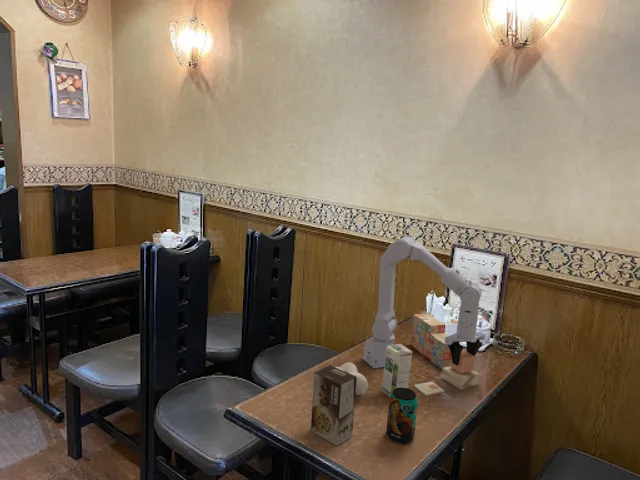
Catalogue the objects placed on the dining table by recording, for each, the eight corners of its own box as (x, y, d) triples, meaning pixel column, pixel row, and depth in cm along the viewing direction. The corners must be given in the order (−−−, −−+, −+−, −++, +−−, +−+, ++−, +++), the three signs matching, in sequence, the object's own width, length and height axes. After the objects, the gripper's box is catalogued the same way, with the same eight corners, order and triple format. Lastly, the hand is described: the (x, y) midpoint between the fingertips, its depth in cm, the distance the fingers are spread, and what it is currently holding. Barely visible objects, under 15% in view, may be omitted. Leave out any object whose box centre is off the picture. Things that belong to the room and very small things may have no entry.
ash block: (460, 390, 147) (462, 378, 146) (441, 379, 153) (442, 367, 152) (477, 385, 151) (479, 373, 150) (458, 374, 157) (459, 363, 157)
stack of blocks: (456, 368, 162) (460, 334, 159) (440, 369, 160) (444, 335, 157) (424, 343, 182) (427, 312, 179) (410, 344, 180) (413, 313, 177)
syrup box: (380, 390, 143) (385, 345, 140) (396, 387, 145) (401, 343, 143) (391, 400, 138) (396, 353, 135) (408, 396, 140) (413, 350, 138)
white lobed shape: (318, 387, 142) (320, 359, 140) (355, 384, 146) (357, 356, 144) (330, 407, 131) (332, 377, 130) (370, 403, 135) (373, 374, 134)
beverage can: (381, 437, 119) (385, 393, 117) (393, 425, 125) (397, 383, 122) (407, 448, 115) (412, 403, 113) (418, 435, 121) (423, 392, 119)
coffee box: (353, 436, 119) (358, 376, 116) (336, 447, 114) (341, 385, 111) (325, 421, 125) (330, 363, 122) (309, 430, 120) (313, 371, 117)
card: (425, 395, 141) (425, 393, 141) (413, 386, 147) (414, 384, 147) (444, 391, 144) (444, 390, 144) (432, 382, 150) (432, 381, 150)
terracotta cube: (460, 373, 148) (462, 358, 147) (450, 366, 152) (451, 351, 151) (472, 371, 150) (474, 356, 149) (462, 364, 154) (464, 350, 154)
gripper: (457, 329, 142) (452, 371, 144) (494, 324, 148) (488, 365, 150) (442, 320, 148) (437, 361, 150) (478, 316, 154) (472, 355, 157)
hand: (462, 362), depth 151 cm, fingers open, 5 cm apart
